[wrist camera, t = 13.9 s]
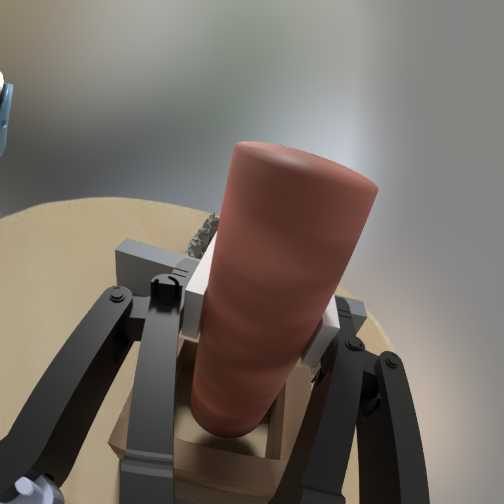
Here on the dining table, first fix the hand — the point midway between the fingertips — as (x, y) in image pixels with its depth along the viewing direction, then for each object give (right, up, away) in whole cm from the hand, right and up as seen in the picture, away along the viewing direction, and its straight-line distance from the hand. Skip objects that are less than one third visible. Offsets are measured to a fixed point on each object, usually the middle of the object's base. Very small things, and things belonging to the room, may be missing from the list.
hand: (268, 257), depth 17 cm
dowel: (-3, -10, 0) cm, 10 cm away
